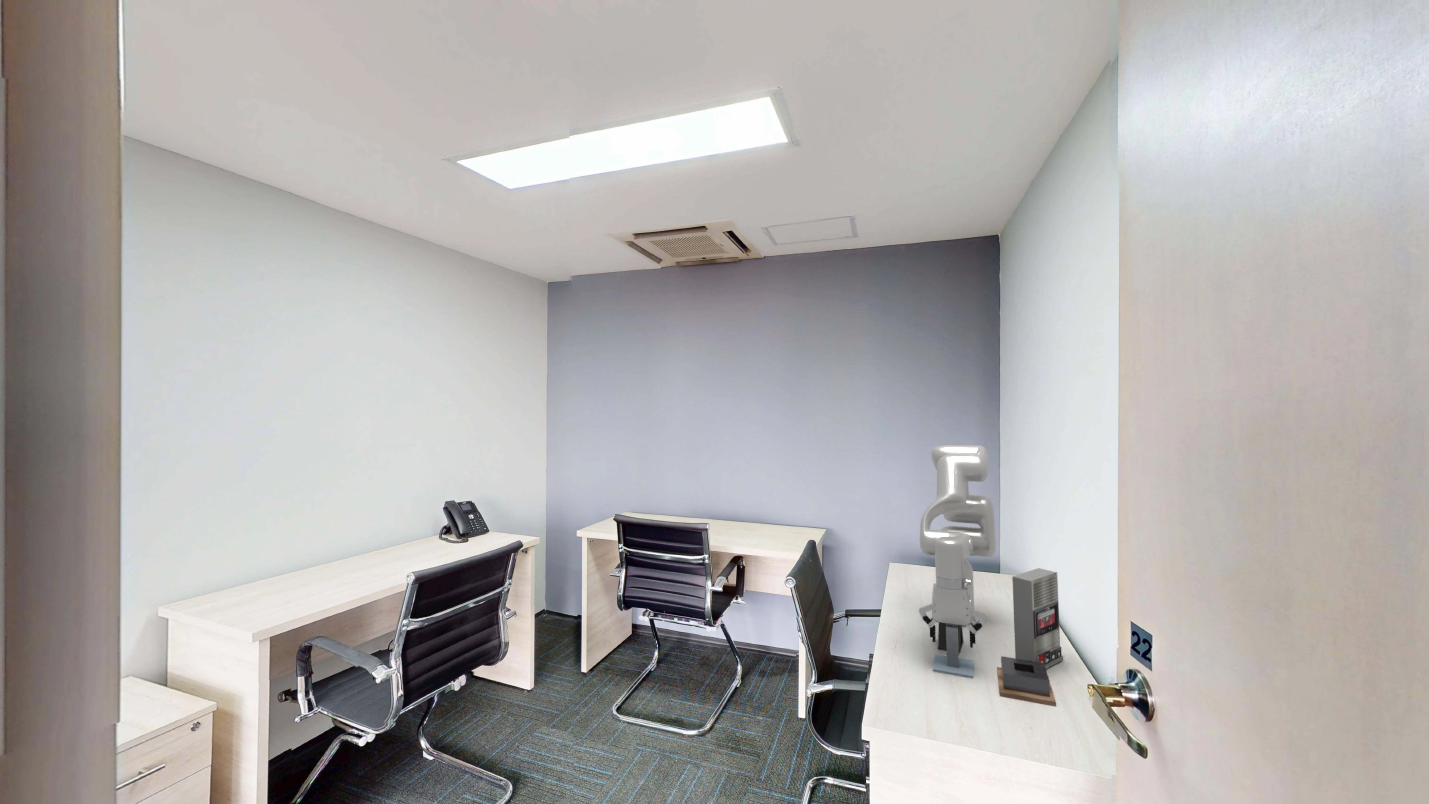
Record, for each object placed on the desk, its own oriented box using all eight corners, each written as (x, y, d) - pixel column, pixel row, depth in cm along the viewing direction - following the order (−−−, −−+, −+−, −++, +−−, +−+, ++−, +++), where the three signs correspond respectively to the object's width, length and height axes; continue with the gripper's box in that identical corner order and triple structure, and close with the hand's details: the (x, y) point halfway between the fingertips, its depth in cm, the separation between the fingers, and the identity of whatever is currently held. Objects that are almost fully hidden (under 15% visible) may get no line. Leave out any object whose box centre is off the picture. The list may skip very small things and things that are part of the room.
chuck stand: (997, 670, 146) (997, 666, 146) (1048, 679, 141) (1048, 675, 141) (999, 695, 133) (999, 691, 133) (1055, 706, 128) (1055, 701, 128)
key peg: (947, 661, 151) (946, 622, 151) (959, 663, 150) (957, 624, 150) (947, 666, 148) (945, 626, 148) (959, 668, 147) (957, 628, 147)
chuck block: (1001, 670, 144) (1001, 656, 144) (1044, 678, 140) (1044, 662, 140) (1003, 688, 135) (1003, 673, 135) (1049, 697, 130) (1049, 680, 131)
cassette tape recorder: (1037, 674, 143) (1034, 582, 144) (1015, 665, 148) (1011, 576, 149) (1064, 661, 150) (1060, 573, 151) (1041, 653, 156) (1038, 567, 156)
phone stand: (959, 653, 157) (958, 613, 157) (937, 649, 160) (936, 609, 160) (963, 642, 164) (962, 603, 164) (943, 638, 167) (941, 599, 168)
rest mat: (935, 655, 156) (935, 653, 156) (972, 661, 151) (972, 659, 151) (933, 671, 147) (933, 669, 147) (973, 678, 142) (973, 676, 142)
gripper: (984, 581, 149) (986, 642, 149) (918, 574, 157) (920, 632, 156) (985, 590, 142) (987, 654, 142) (916, 582, 150) (918, 643, 150)
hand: (952, 642), depth 149 cm, fingers open, 9 cm apart
